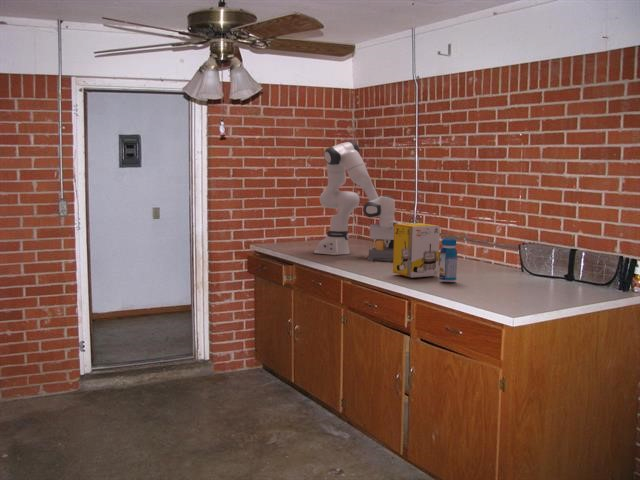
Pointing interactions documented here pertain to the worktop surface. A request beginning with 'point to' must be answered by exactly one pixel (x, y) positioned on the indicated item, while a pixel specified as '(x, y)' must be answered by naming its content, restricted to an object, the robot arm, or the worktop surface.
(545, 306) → the worktop surface
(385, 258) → the breaker block
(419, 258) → the packaging box
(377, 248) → the breaker knob
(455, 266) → the beverage bottle
